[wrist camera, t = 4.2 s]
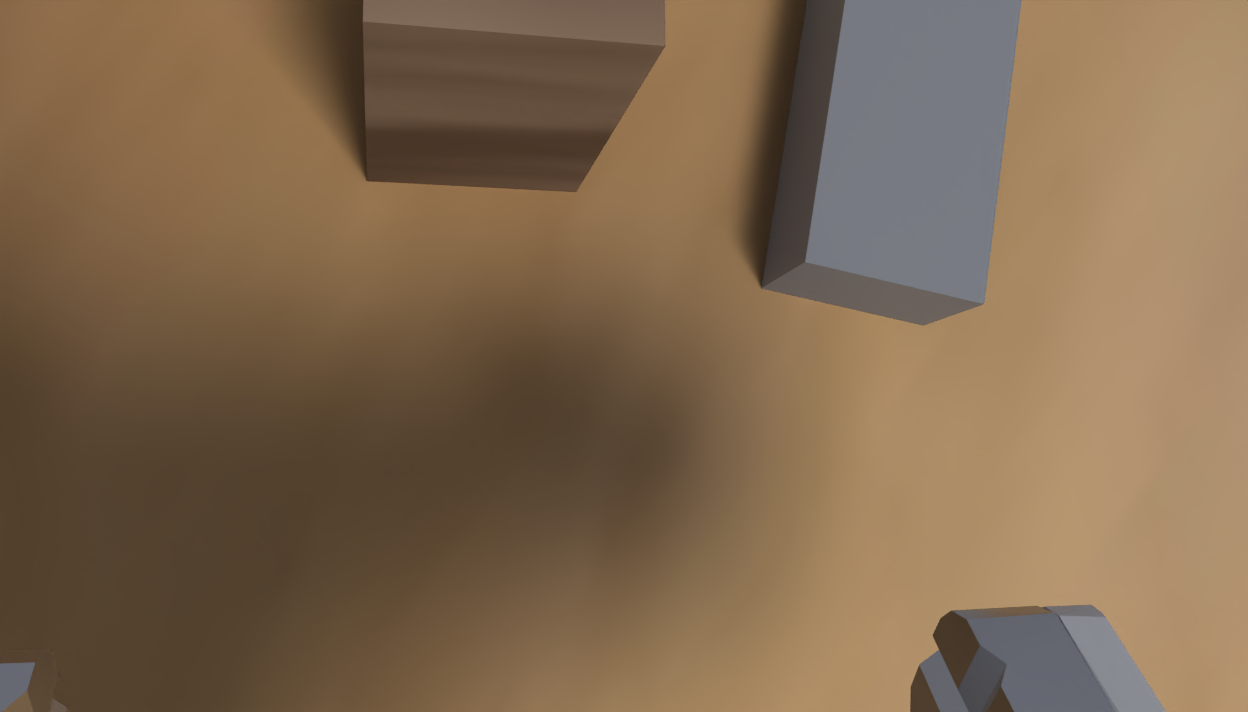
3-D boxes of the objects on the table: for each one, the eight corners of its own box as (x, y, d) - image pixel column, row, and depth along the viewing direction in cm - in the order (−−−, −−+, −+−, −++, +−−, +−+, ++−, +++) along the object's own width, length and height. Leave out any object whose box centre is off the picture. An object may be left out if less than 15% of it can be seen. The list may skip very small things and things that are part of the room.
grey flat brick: (918, 327, 27) (984, 303, 24) (757, 290, 26) (805, 262, 23) (959, 14, 28) (1026, -44, 25) (808, -29, 27) (859, -94, 25)
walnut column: (576, 192, 25) (665, 45, 17) (366, 180, 24) (362, 21, 16) (575, -2, 26) (661, -225, 18) (371, -20, 25) (369, -264, 17)
